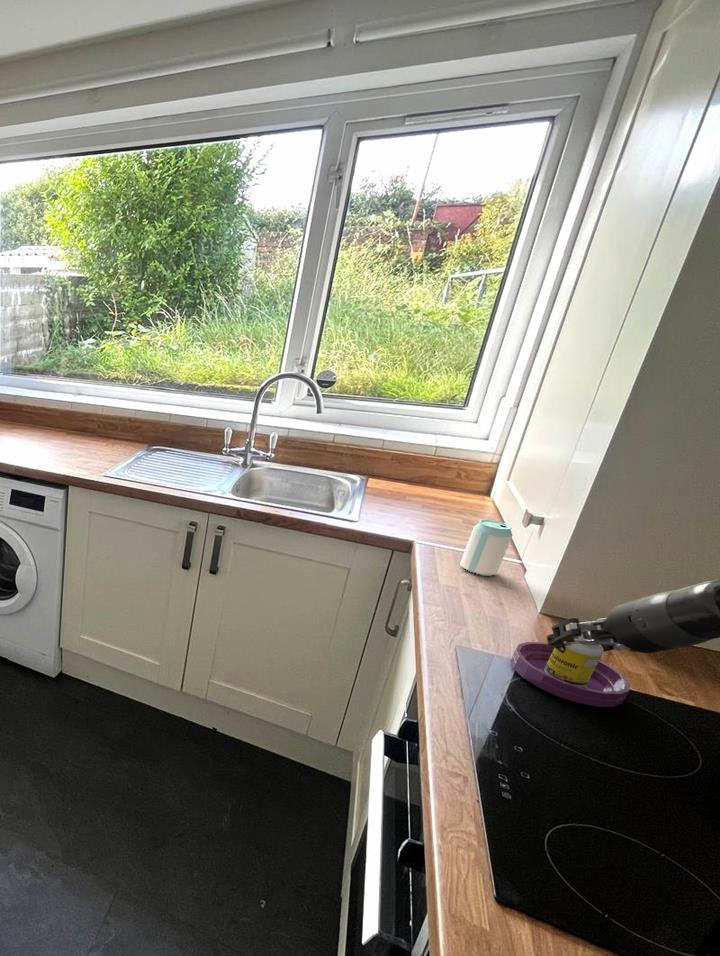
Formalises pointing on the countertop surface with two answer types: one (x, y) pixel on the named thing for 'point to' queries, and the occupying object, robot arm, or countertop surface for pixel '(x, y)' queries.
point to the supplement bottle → (574, 662)
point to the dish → (599, 691)
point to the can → (486, 547)
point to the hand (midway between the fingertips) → (570, 644)
